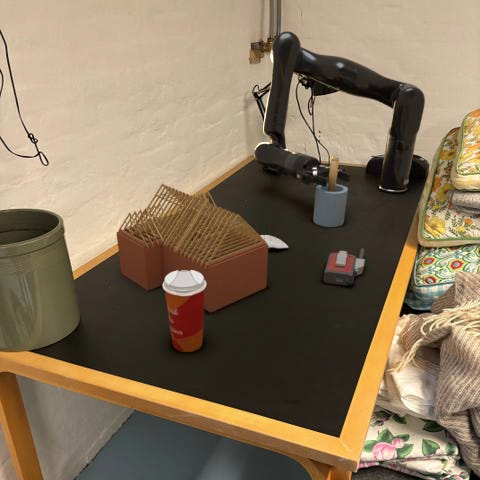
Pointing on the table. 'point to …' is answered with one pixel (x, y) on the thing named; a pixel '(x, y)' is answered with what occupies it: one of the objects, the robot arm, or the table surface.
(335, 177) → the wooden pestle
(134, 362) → the table surface
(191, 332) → the paper cup
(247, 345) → the table surface
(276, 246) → the pincushion
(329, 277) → the walkie-talkie
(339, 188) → the jar
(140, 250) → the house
